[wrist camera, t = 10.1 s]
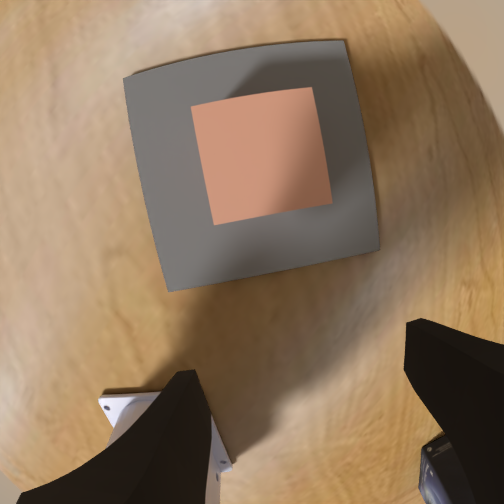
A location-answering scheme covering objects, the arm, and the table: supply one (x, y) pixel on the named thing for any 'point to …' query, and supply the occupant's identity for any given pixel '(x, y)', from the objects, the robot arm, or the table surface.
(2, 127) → the table surface
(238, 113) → the cube
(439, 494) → the small box
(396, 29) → the table surface
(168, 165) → the mat
